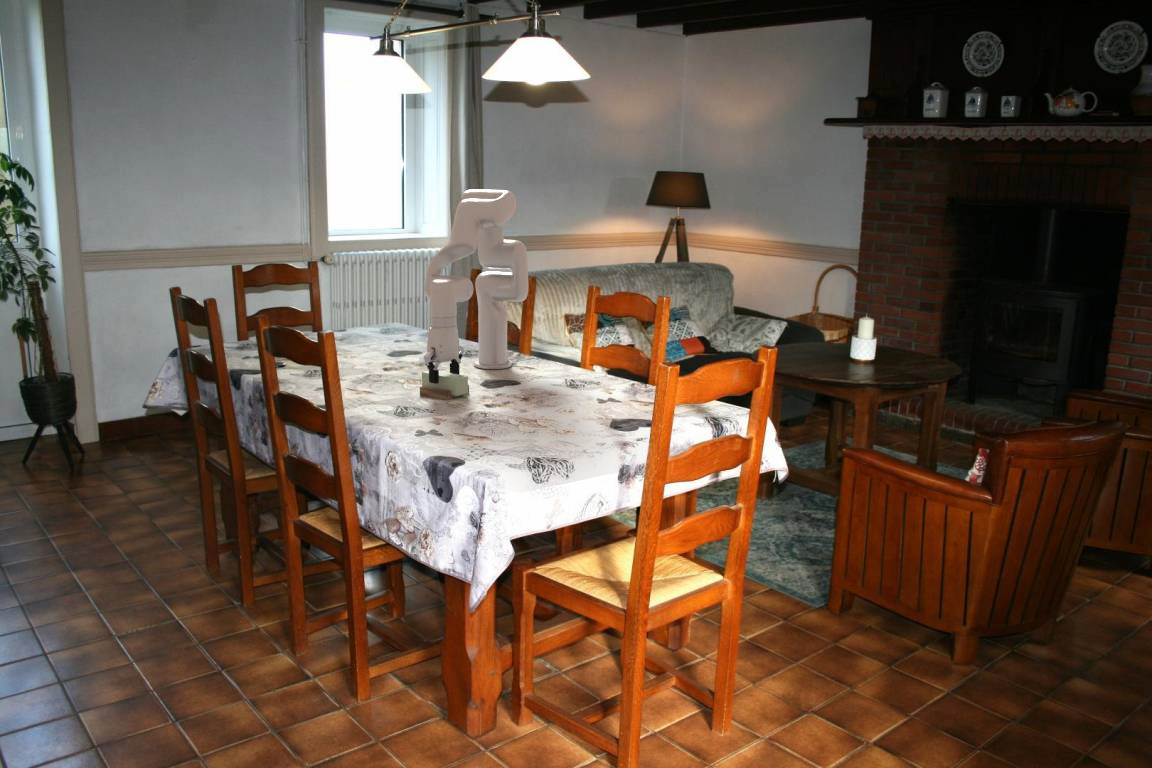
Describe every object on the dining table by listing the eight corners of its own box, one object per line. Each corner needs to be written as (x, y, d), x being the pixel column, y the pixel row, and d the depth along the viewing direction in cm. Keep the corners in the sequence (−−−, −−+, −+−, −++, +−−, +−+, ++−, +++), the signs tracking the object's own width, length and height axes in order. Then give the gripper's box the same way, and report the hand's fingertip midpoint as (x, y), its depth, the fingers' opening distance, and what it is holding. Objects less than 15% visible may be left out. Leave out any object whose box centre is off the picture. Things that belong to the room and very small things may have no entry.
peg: (434, 385, 297) (434, 369, 295) (467, 393, 288) (467, 376, 287) (422, 388, 293) (421, 372, 292) (455, 396, 284) (455, 379, 283)
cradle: (442, 388, 297) (442, 380, 297) (469, 392, 293) (468, 384, 292) (419, 395, 289) (419, 387, 288) (447, 400, 284) (447, 391, 283)
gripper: (451, 317, 295) (452, 373, 299) (414, 325, 280) (415, 383, 284) (472, 319, 291) (472, 376, 295) (435, 327, 277) (436, 387, 281)
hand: (444, 379), depth 290 cm, fingers open, 9 cm apart
